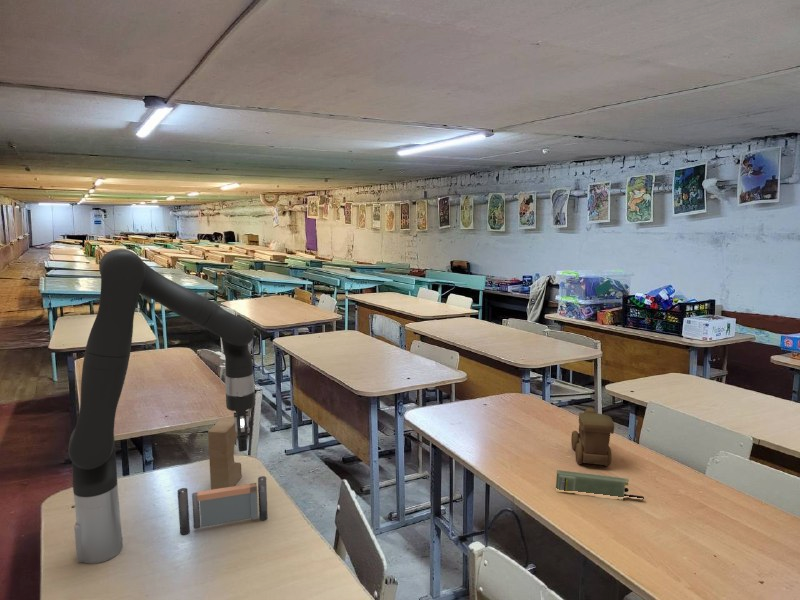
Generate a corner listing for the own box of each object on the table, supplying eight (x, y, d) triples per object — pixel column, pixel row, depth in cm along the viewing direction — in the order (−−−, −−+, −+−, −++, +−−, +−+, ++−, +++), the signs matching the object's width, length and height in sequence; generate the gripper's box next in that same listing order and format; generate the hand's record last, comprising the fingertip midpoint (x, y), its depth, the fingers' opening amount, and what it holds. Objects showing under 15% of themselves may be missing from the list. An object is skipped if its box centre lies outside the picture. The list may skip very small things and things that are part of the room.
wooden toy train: (613, 473, 172) (617, 425, 169) (577, 469, 174) (580, 422, 171) (601, 447, 191) (605, 403, 189) (569, 444, 193) (572, 401, 191)
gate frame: (179, 536, 136) (177, 493, 134) (180, 530, 138) (177, 488, 136) (268, 520, 143) (266, 480, 141) (267, 515, 146) (265, 475, 144)
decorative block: (225, 475, 167) (222, 416, 164) (242, 476, 167) (240, 417, 163) (209, 493, 156) (206, 430, 153) (228, 495, 156) (225, 431, 152)
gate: (193, 529, 137) (191, 496, 135) (193, 525, 139) (192, 492, 137) (257, 518, 142) (256, 486, 141) (257, 514, 144) (256, 482, 143)
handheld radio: (555, 487, 163) (642, 499, 157) (556, 493, 160) (644, 505, 154) (556, 468, 161) (644, 479, 156) (557, 473, 158) (646, 485, 152)
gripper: (224, 384, 147) (227, 442, 149) (226, 400, 134) (229, 463, 137) (252, 381, 149) (255, 438, 152) (256, 396, 137) (258, 458, 140)
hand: (242, 450), depth 145 cm, fingers closed
